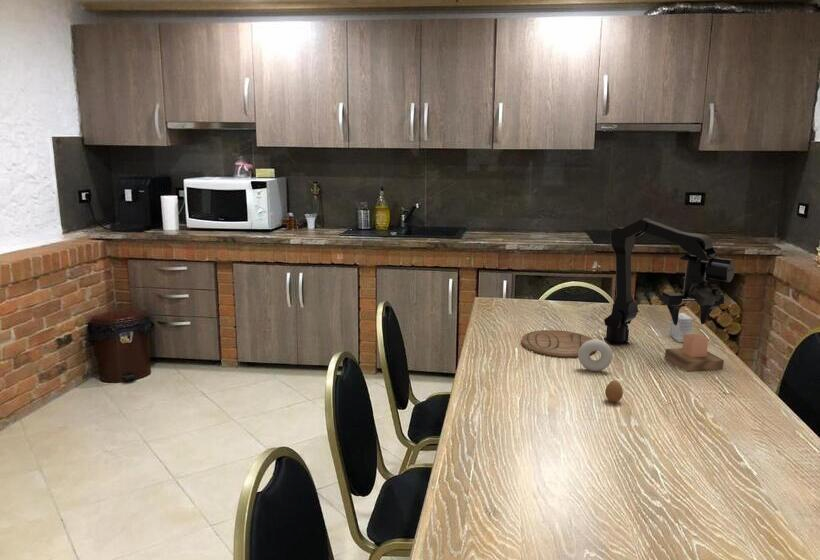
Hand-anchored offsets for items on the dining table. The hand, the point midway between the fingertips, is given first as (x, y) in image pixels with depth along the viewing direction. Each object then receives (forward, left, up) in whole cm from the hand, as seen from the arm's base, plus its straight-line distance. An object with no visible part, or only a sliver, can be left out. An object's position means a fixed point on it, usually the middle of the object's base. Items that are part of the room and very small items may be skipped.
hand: (688, 324), depth 199 cm
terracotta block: (+1, -3, -9) cm, 9 cm away
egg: (-38, -27, -12) cm, 48 cm away
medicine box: (+11, +20, -12) cm, 26 cm away
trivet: (-34, +19, -12) cm, 41 cm away
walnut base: (+1, -3, -12) cm, 12 cm away
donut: (-33, -5, -12) cm, 36 cm away
